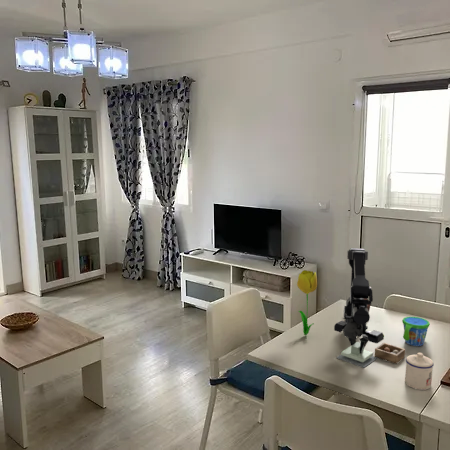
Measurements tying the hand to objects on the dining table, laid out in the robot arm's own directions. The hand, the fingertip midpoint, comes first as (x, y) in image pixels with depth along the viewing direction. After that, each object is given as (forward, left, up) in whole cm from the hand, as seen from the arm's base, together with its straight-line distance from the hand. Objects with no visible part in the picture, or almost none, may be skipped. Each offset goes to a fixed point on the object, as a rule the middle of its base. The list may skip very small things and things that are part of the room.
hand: (357, 351), depth 184 cm
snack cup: (+11, +30, -3) cm, 32 cm away
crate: (+9, +10, -3) cm, 14 cm away
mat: (0, 0, -3) cm, 3 cm away
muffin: (-22, +43, -3) cm, 48 cm away
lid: (0, 0, -1) cm, 1 cm away
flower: (-27, +4, -3) cm, 27 cm away
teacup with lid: (+25, -2, -3) cm, 25 cm away
